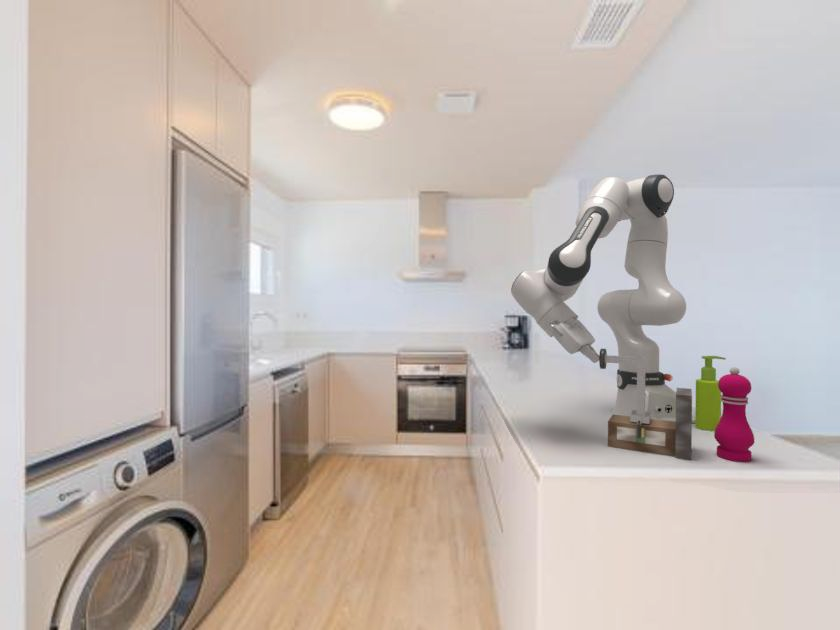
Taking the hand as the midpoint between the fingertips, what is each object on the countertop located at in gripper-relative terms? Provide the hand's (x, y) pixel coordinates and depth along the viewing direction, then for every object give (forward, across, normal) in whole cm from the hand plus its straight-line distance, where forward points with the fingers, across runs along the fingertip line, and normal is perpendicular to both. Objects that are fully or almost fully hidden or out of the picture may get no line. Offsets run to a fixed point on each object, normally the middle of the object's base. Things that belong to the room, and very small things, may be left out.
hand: (598, 361), depth 109 cm
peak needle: (+19, -5, +4) cm, 20 cm away
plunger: (+16, -1, +7) cm, 18 cm away
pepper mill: (+34, +2, -6) cm, 35 cm away
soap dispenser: (+32, +28, -3) cm, 42 cm away
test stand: (+22, 0, +6) cm, 23 cm away
